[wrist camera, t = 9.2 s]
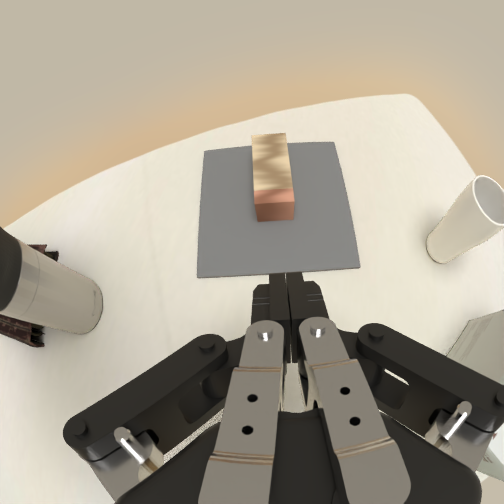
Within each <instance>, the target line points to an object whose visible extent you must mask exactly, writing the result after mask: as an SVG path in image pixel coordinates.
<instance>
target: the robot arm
mask: <svg viewBox="0 0 504 504" xmlns="http://www.w3.org/2000/svg"><path fill="white" fill-rule="evenodd" d="M101 312H102V295H101V292H100V289H99V287H98V286H97V284H96V283H95V282H94V281H92V280H90V279H89V278H87V277H85V276H83V275H81V274H79V273H77V272H75V271H73V270H71V269H69V268H68V267H66V266H64V265H62V264H60V263H58V262H56V261H55V260H53V259H51V258H49V257H47V256H45V255H44V254H42V253H40V252H38V251H37V250H35V249H33V248H31V247H30V246H28V245H26V244H25V243H23V242H21V241H20V240H18V239H16V238H15V237H13V236H11V235H10V234H8V233H7V232H6V231H5V230H3V229H2V228H1V227H0V314H2V315H5V316H9V317H12V318H16V319H19V320H23V321H27V322H30V323H34V324H38V325H42V326H46V327H50V328H54V329H58V330H62V331H67V332H71V333H76V334H85V333H87V332H89V331H91V330H92V329H93V328H94V327H95V325H96V324H97V322H98V320H99V319H100V315H101ZM290 344H291V350H290ZM291 355H292V363H298V379H299V384H300V389H301V394H302V399H303V404H304V409H305V412H302V413H291V412H284V411H283V410H284V392H285V375H286V372H287V363H291ZM385 369H387V370H389V371H390V372H392V373H394V374H395V375H397V376H399V377H401V378H402V379H404V380H405V381H407V383H408V384H409V385H407V384H405V383H403V382H402V381H400V380H398V379H397V378H395V377H393V376H391V375H390V374H388V373H386V372H385V371H384V370H385ZM223 408H224V411H223V415H222V420H221V422H219V423H216V424H214V425H213V426H211V427H209V428H208V429H206V430H205V431H204V432H203V433H201V434H200V435H199V436H198V437H197V438H196V439H194V440H193V441H192V442H191V443H190V444H188V445H187V446H186V447H185V448H184V449H182V450H181V451H180V452H179V453H178V454H176V455H175V456H174V457H173V458H171V459H170V460H169V461H168V462H166V463H165V464H164V465H163V463H164V456H163V455H164V454H166V453H167V452H169V451H170V450H171V449H173V448H174V447H175V446H177V445H178V444H179V443H181V442H182V441H183V440H184V439H186V438H187V437H188V436H190V435H191V434H192V433H193V432H195V431H196V430H197V429H198V428H200V427H201V426H202V425H203V424H205V423H206V422H207V421H208V420H210V419H211V418H212V417H213V416H214V415H216V414H217V413H218V412H219V411H220V410H221V409H223ZM378 409H379V410H381V411H382V412H384V413H386V414H387V415H386V414H384V413H382V412H379V410H378ZM388 415H389V416H388ZM391 417H392V418H391ZM394 419H395V420H394ZM396 420H397V421H398V422H397V421H396ZM399 422H400V423H401V424H400V423H399ZM503 423H504V385H502V384H500V383H498V382H496V381H494V380H492V379H490V378H488V377H486V376H484V375H482V374H480V373H478V372H476V371H474V370H472V369H470V368H468V367H466V366H464V365H462V364H460V363H458V362H456V361H454V360H452V359H450V358H448V357H446V356H444V355H442V354H440V353H438V352H436V351H434V350H432V349H430V348H429V347H427V346H425V345H423V344H421V343H419V342H417V341H415V340H413V339H411V338H409V337H407V336H405V335H403V334H401V333H399V332H397V331H395V330H393V329H391V328H389V327H387V326H385V325H382V324H378V323H371V324H366V325H364V326H362V327H361V328H360V329H359V331H358V333H354V332H346V331H342V330H340V329H338V328H337V327H336V325H335V324H334V322H333V321H331V320H330V319H329V316H328V313H327V309H326V306H325V302H324V300H323V296H322V293H321V289H320V286H319V285H317V284H316V283H315V282H314V281H305V282H304V280H303V276H302V272H301V271H297V272H286V279H285V272H283V273H269V284H260V285H258V286H257V287H256V288H255V289H254V291H253V302H252V316H251V325H250V326H249V327H248V329H247V331H246V334H245V335H244V336H242V337H241V338H238V339H235V340H232V341H228V342H226V341H225V340H224V339H223V338H222V337H221V336H219V335H215V334H205V335H201V336H199V337H197V338H195V339H193V340H192V341H191V342H189V343H188V344H186V345H185V346H183V347H182V348H180V349H179V350H177V351H176V352H174V353H173V354H171V355H170V356H168V357H167V358H165V359H164V360H162V361H161V362H159V363H158V364H156V365H155V366H153V367H152V368H150V369H149V370H147V371H146V372H144V373H142V374H141V375H139V376H138V377H136V378H135V379H133V380H132V381H130V382H128V383H127V384H125V385H124V386H122V387H121V388H119V389H117V390H116V391H114V392H113V393H111V394H109V395H108V396H106V397H105V398H103V399H101V400H100V401H98V402H97V403H95V404H93V405H92V406H90V407H88V408H87V409H85V410H83V411H82V412H80V413H78V414H77V415H75V416H73V417H72V418H70V419H69V420H68V421H67V423H66V424H65V426H64V429H63V437H64V440H65V442H66V443H67V444H68V445H69V446H70V447H71V448H72V449H73V450H75V451H76V452H77V453H78V455H79V456H80V457H81V458H82V459H83V460H84V461H86V462H87V463H88V464H89V465H90V466H91V468H92V469H93V471H94V472H95V474H96V475H97V477H98V478H99V480H100V481H101V483H102V484H103V486H104V487H105V489H106V490H107V491H108V493H109V494H110V495H111V497H112V498H113V499H114V501H115V504H480V502H481V497H482V489H481V483H480V480H479V478H478V476H477V475H476V473H475V471H476V470H477V468H478V466H479V464H480V462H481V460H482V458H483V456H484V454H485V452H486V450H487V448H488V446H489V444H490V441H491V439H492V437H493V435H494V433H495V432H496V431H497V430H498V429H499V428H500V427H501V425H502V424H503ZM402 424H403V425H405V426H406V427H408V428H409V429H411V430H413V431H414V432H416V433H418V434H419V435H421V436H423V437H424V438H425V440H424V439H423V438H421V437H420V436H418V435H417V434H415V433H414V432H412V431H411V430H409V429H408V428H406V427H405V426H403V425H402Z"/></svg>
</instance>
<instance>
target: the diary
mask: <svg viewBox="0 0 504 504" xmlns="http://www.w3.org/2000/svg"><path fill="white" fill-rule="evenodd" d="M28 246H30V247H31V248H33V249H35V250H37V251H38V252H40V253H42V254H44V255H45V256H47V257H49V258H51V259H53V260H55V261H56V262H57V260H58V251H56V252H45V248H46V246H47V245H28ZM32 327H33V328H38V329H39V328H43V326H42V325H38V324H34V323H30V322H27V321H23V320H19V319H16V318H12V317H9V316H5V315H2V314H0V334H2V335H5V336H8V337H10V338H13V339H16V340H18V341H20V342H22V343H25V344H27V345H29V346H32V347H43V346H44V343H41V342H38V341H35V340H32V339H31V335H34V336H40V335H42V334H44V333H42V332H39V331H36V330H33V329H31V328H32Z"/></svg>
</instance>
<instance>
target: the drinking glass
mask: <svg viewBox="0 0 504 504" xmlns="http://www.w3.org/2000/svg"><path fill="white" fill-rule="evenodd" d="M503 228H504V190H503V189H502V188H501V187H500V185H499V184H498V183H497V182H496V181H494V180H493V179H491V178H490V177H488V176H484V175H479V176H477V177H475V178H474V179H473V180H472V181H471V182H470V184H469V185H468V186H467V187H466V188H465V189H464V190H463V191H462V193H461V194H460V195H459V196H458V198H457V199H456V200H455V202H454V203H453V205H452V206H451V208H450V209H449V210H448V212H447V213H446V214H445V216H444V217H443V219H442V220H441V221H440V223H439V224H438V225H437V226H436V228H435V229H434V230H433V231H432V232H431V233H430V234H429V236H428V238H427V250H428V253H429V254H430V256H431V257H432V258H433V259H434V260H435V261H436V262H438V263H448V262H450V261H451V260H452V259H454V258H456V257H458V256H459V255H461V254H463V253H465V252H467V251H469V250H471V249H473V248H474V247H476V246H478V245H480V244H482V243H484V242H485V241H487V240H489V239H490V238H492V237H493V236H494V235H496V234H497V233H498V232H499V231H501V230H502V229H503Z"/></svg>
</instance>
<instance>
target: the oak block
mask: <svg viewBox="0 0 504 504" xmlns="http://www.w3.org/2000/svg"><path fill="white" fill-rule="evenodd" d="M252 156H253V180H254V204H255V210H256V215H257V221H258V222H265V221H280V220H293V218H294V203H295V201H294V193H293V184H292V177H291V169H290V162H289V154H288V147H287V140H286V134H285V133H280V134H265V135H252Z"/></svg>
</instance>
